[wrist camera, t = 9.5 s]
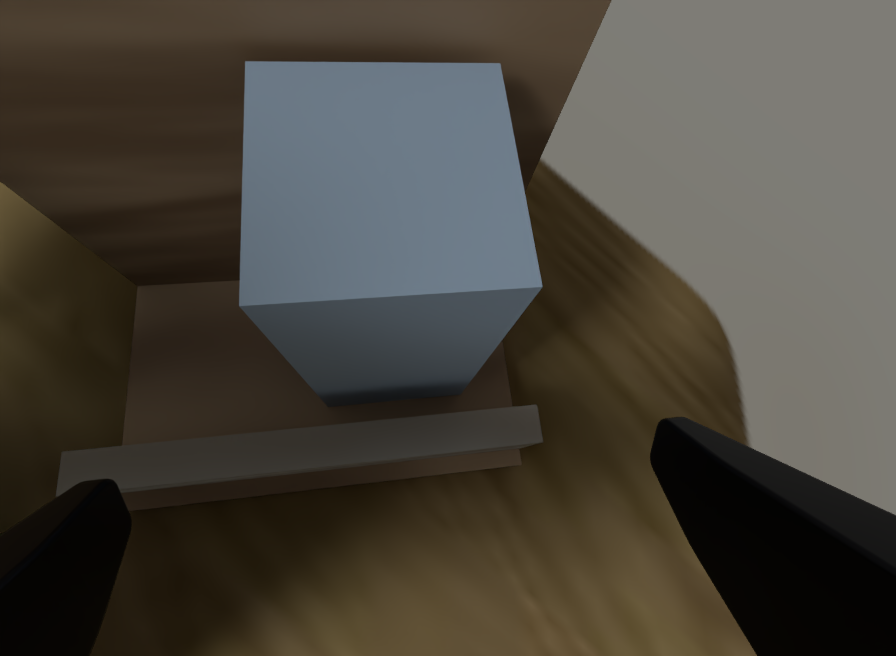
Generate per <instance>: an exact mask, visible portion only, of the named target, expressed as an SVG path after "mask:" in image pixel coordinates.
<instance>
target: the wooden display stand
mask: <svg viewBox="0 0 896 656" xmlns="http://www.w3.org/2000/svg"><path fill="white" fill-rule="evenodd" d="M610 2H611V0H0V182H2V183H3V184H4V185H6V186H7V187H8V188H10V189H11V190H12V191H14V192H15V193H16V194H18V195H19V196H20V197H21V198H23V199H24V200H25V201H27V202H28V203H29V204H31V205H32V206H33V207H35V208H36V209H37V210H39V211H40V212H41V213H42V214H44V215H45V216H46V217H48V218H49V219H50V220H52V221H53V222H54V223H56V224H57V225H58V226H60V227H61V228H62V229H63V230H65V231H66V232H67V233H69V234H70V235H71V236H73V237H74V238H75V239H77V240H78V241H79V242H81V243H82V244H83V245H84V246H86V247H87V248H88V249H90V250H91V251H92V252H94V253H95V254H96V255H98V256H99V257H100V258H101V259H103V260H104V261H105V262H107V263H108V264H109V265H111V266H112V267H113V268H115V269H116V270H117V271H119V272H120V273H121V274H122V275H124V276H125V277H126V278H128V279H129V280H130V281H132V282H133V283H134V284H136V285H137V286H138V287H137V297H136V308H135V318H134V328H133V338H132V348H131V359H130V369H129V379H128V389H127V399H126V409H125V420H124V430H123V440H122V446H114V447H104V448H94V449H84V450H74V451H64V452H62V453H61V461H60V468H59V476H58V483H57V490H56V496H59V495H61V494H62V493H64V492H65V491H67V490H68V489H70V488H71V487H73V486H74V485H76V484H78V483H80V482H82V481H87V480H97V479H106V478H107V479H112V480H114V481H115V482H116V483H117V485H118V487H119V489H120V492H121V494H122V496H123V499H124V501H125V503H126V506H127V508H128V510H129V511H136V510H144V509H153V508H161V507H170V506H178V505H187V504H195V503H204V502H212V501H221V500H229V499H238V498H246V497H255V496H263V495H271V494H280V493H288V492H297V491H305V490H314V489H322V488H331V487H339V486H348V485H356V484H365V483H373V482H382V481H390V480H399V479H407V478H416V477H424V476H433V475H441V474H450V473H458V472H467V471H475V470H484V469H492V468H501V467H509V466H517V465H522V463H521V457H520V450H519V448H523V447H527V446H531V445H535V444H538V443H542V442H543V437H542V431H541V425H540V419H539V413H538V408H537V405H527V406H517V407H513V405H512V398H511V392H510V385H509V379H508V373H507V366H506V360H505V353H504V347H503V340H502V341H501V342H500V343H499V345H498V346H497V347H496V349H495V350H494V351H493V353H492V354H491V355H490V356H489V358H488V359H487V360H486V362H485V363H484V364H483V366H482V367H481V368H480V370H479V371H478V372H477V373H476V375H475V376H474V377H473V379H472V380H471V381H470V383H469V384H468V385H467V387H466V388H465V389H464V390H463V392H462V393H461V394H460V395H450V396H440V397H429V398H419V399H408V400H397V401H387V402H376V403H366V404H355V405H345V406H334V407H328V406H327V405H326V404H325V403H324V402H323V401H322V399H321V398H320V397H319V396H318V395H317V394H316V393H315V391H314V390H313V389H312V388H311V387H310V386H309V385H308V384H307V382H306V381H305V380H304V379H303V378H302V377H301V376H300V374H299V373H298V372H297V371H296V370H295V369H294V368H293V367H292V365H291V364H290V363H289V362H288V361H287V360H286V359H285V358H284V356H283V355H282V354H281V353H280V352H279V351H278V350H277V348H276V347H275V346H274V345H273V344H272V343H271V342H270V341H269V339H268V338H267V337H266V336H265V335H264V334H263V333H262V331H261V330H260V329H259V328H258V327H257V326H256V325H255V324H254V322H253V321H252V320H251V319H250V318H249V317H248V316H247V314H246V313H245V312H244V311H243V310H242V309H241V308H240V307H239V291H240V251H241V211H242V171H243V132H244V92H245V61H263V62H403V63H500V64H501V70H502V75H503V80H504V85H505V91H506V96H507V101H508V107H509V112H510V117H511V122H512V128H513V133H514V138H515V144H516V149H517V154H518V159H519V165H520V170H521V175H522V180H523V186H524V191H525V190H526V188H527V186H528V184H529V182H530V179H531V177H532V175H533V173H534V171H535V168H536V166H537V164H538V162H539V159H540V157H541V155H542V153H543V151H544V148H545V146H546V144H547V142H548V140H549V137H550V135H551V133H552V131H553V129H554V126H555V124H556V122H557V120H558V117H559V115H560V113H561V111H562V109H563V106H564V104H565V102H566V100H567V97H568V95H569V93H570V91H571V89H572V86H573V84H574V82H575V80H576V78H577V75H578V73H579V71H580V69H581V66H582V64H583V62H584V60H585V58H586V55H587V53H588V51H589V49H590V47H591V44H592V42H593V40H594V38H595V36H596V33H597V31H598V29H599V27H600V25H601V22H602V20H603V18H604V16H605V13H606V11H607V9H608V7H609V4H610Z"/></svg>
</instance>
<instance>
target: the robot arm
mask: <svg viewBox="0 0 896 656" xmlns="http://www.w3.org/2000/svg"><path fill="white" fill-rule="evenodd" d="M650 461H651V465H652V468H653V470H654V472H655V474H656V476H657V478H658V481H659V483H660V485H661V487H662V489H663V491H664V493H665V495H666V497H667V499H668V501H669V503H670V505H671V507H672V509H673V511H674V513H675V516H676V518H677V520H678V522H679V524H680V526H681V528H682V530H683V532H684V534H685V536H686V538H687V540H688V542H689V544H690V545H691V547H692V549H693V551H694V552H695V554H696V556H697V558H698V559H699V561H700V563H701V564H702V566H703V568H704V569H705V571H706V573H707V574H708V576H709V577H710V579H711V581H712V582H713V584H714V586H715V587H716V589H717V591H718V592H719V594H720V595H721V597H722V599H723V600H724V602H725V604H726V605H727V607H728V609H729V610H730V612H731V614H732V615H733V617H734V618H735V620H736V622H737V623H738V625H739V627H740V628H741V630H742V632H743V633H744V635H745V636H746V638H747V640H748V641H749V643H750V645H751V646H752V648H753V650H754V651H755V653H756V655H757V656H896V515H894V514H892V513H890V512H887V511H885V510H883V509H881V508H879V507H877V506H875V505H872V504H870V503H868V502H866V501H864V500H862V499H859V498H857V497H855V496H853V495H851V494H849V493H846V492H844V491H842V490H840V489H838V488H836V487H834V486H831V485H829V484H827V483H825V482H823V481H820V480H819V479H816V478H814V477H812V476H810V475H808V474H806V473H803V472H801V471H799V470H797V469H795V468H793V467H791V466H788V465H786V464H784V463H782V462H780V461H778V460H776V459H773V458H771V457H769V456H767V455H765V454H763V453H761V452H758V451H756V450H754V449H752V448H750V447H748V446H746V445H743V444H741V443H739V442H737V441H735V440H733V439H731V438H728V437H726V436H724V435H722V434H720V433H718V432H715V431H713V430H711V429H709V428H707V427H705V426H703V425H700V424H698V423H696V422H694V421H692V420H690V419H688V418H685V417H674V418H665V419H662V420H661V421H660V422H659V423H658V425H657V429H656V433H655V437H654V441H653V445H652V449H651V453H650ZM131 526H132V521H131V516H130V513H129V510H128V508H127V506H126V503H125V501H124V499H123V496H122V494H121V492H120V489H119V487H118V485H117V483H116V482H115V481H114V480H112V479H107V478H106V479H97V480H87V481H82V482H80V483H78V484H76V485H74V486H73V487H71V488H70V489H68V490H67V491H65V492H64V493H62V494H61V495H59V496H58V497H56V498H55V499H53V500H52V501H50V502H49V503H47V504H46V505H44V506H43V507H41V508H40V509H39V510H37V511H36V512H34V513H33V514H31V515H30V516H28V517H27V518H25V519H24V520H22V521H21V522H19V523H18V524H16V525H15V526H13V527H12V528H10V529H9V530H7V531H6V532H4V533H3V534H1V535H0V656H89V655H90V653H91V651H92V648H93V646H94V643H95V641H96V638H97V636H98V633H99V630H100V627H101V624H102V621H103V618H104V615H105V612H106V609H107V606H108V602H109V599H110V596H111V593H112V590H113V586H114V583H115V580H116V577H117V574H118V570H119V567H120V564H121V561H122V558H123V555H124V551H125V548H126V545H127V542H128V539H129V535H130V532H131Z"/></svg>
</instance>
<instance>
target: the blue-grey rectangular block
mask: <svg viewBox="0 0 896 656" xmlns="http://www.w3.org/2000/svg"><path fill="white" fill-rule="evenodd" d="M542 287H543V286H542V281H541V275H540V270H539V265H538V260H537V254H536V249H535V244H534V239H533V233H532V228H531V223H530V217H529V212H528V207H527V202H526V196H525V191H524V186H523V180H522V175H521V170H520V165H519V159H518V154H517V149H516V144H515V138H514V133H513V128H512V122H511V117H510V112H509V107H508V101H507V96H506V91H505V85H504V80H503V75H502V70H501V64H500V63H403V62H263V61H245V92H244V132H243V171H242V211H241V251H240V291H239V307H240V308H241V309H242V310H243V311H244V312H245V313H246V314H247V316H248V317H249V318H250V319H251V320H252V321H253V322H254V324H255V325H256V326H257V327H258V328H259V329H260V330H261V331H262V333H263V334H264V335H265V336H266V337H267V338H268V339H269V341H270V342H271V343H272V344H273V345H274V346H275V347H276V348H277V350H278V351H279V352H280V353H281V354H282V355H283V356H284V358H285V359H286V360H287V361H288V362H289V363H290V364H291V365H292V367H293V368H294V369H295V370H296V371H297V372H298V373H299V374H300V376H301V377H302V378H303V379H304V380H305V381H306V382H307V384H308V385H309V386H310V387H311V388H312V389H313V390H314V391H315V393H316V394H317V395H318V396H319V397H320V398H321V399H322V401H323V402H324V403H325V404H326V405H327V406H328V407H334V406H345V405H355V404H366V403H376V402H387V401H397V400H408V399H419V398H429V397H440V396H450V395H460V394H461V393H462V392H463V390H464V389H465V388H466V387H467V385H468V384H469V383H470V381H471V380H472V379H473V377H474V376H475V375H476V373H477V372H478V371H479V370H480V368H481V367H482V366H483V364H484V363H485V362H486V360H487V359H488V358H489V356H490V355H491V354H492V353H493V351H494V350H495V349H496V347H497V346H498V345H499V343H500V342H501V341H502V339H503V338H504V337H505V336H506V334H507V333H508V332H509V330H510V329H511V328H512V326H513V325H514V324H515V322H516V321H517V320H518V319H519V317H520V316H521V315H522V313H523V312H524V311H525V309H526V308H527V307H528V305H529V304H530V303H531V302H532V300H533V299H534V298H535V296H536V295H537V294H538V292H539V291H540V290H541V288H542Z"/></svg>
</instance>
